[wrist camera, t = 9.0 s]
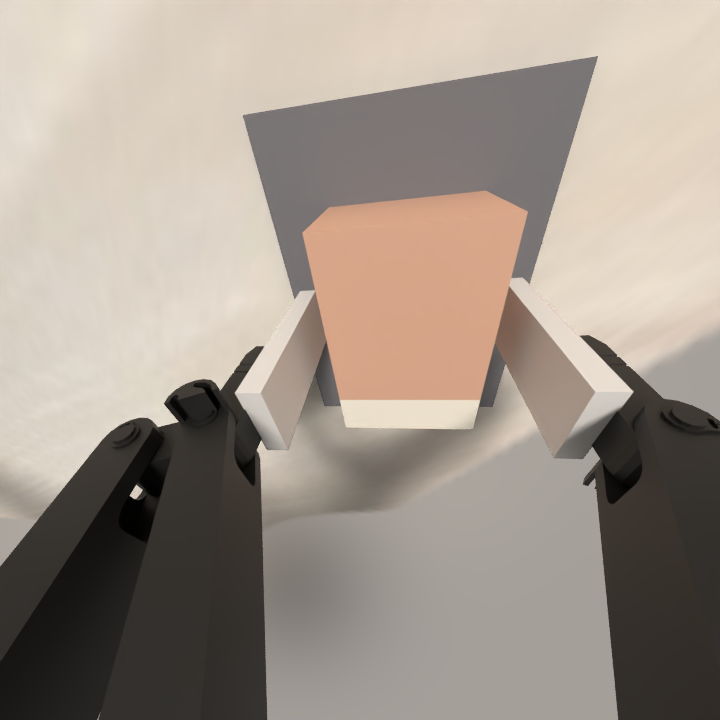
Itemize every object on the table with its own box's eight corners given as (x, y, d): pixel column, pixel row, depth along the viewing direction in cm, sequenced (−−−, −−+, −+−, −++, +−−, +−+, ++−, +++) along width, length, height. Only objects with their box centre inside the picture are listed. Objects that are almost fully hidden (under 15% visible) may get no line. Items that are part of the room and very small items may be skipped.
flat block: (328, 207, 11) (302, 232, 8) (486, 190, 10) (528, 211, 7) (355, 373, 16) (345, 427, 13) (457, 372, 15) (472, 429, 12)
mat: (325, 401, 19) (324, 405, 18) (247, 116, 9) (242, 115, 9) (490, 401, 17) (492, 406, 17) (590, 59, 8) (598, 56, 8)
